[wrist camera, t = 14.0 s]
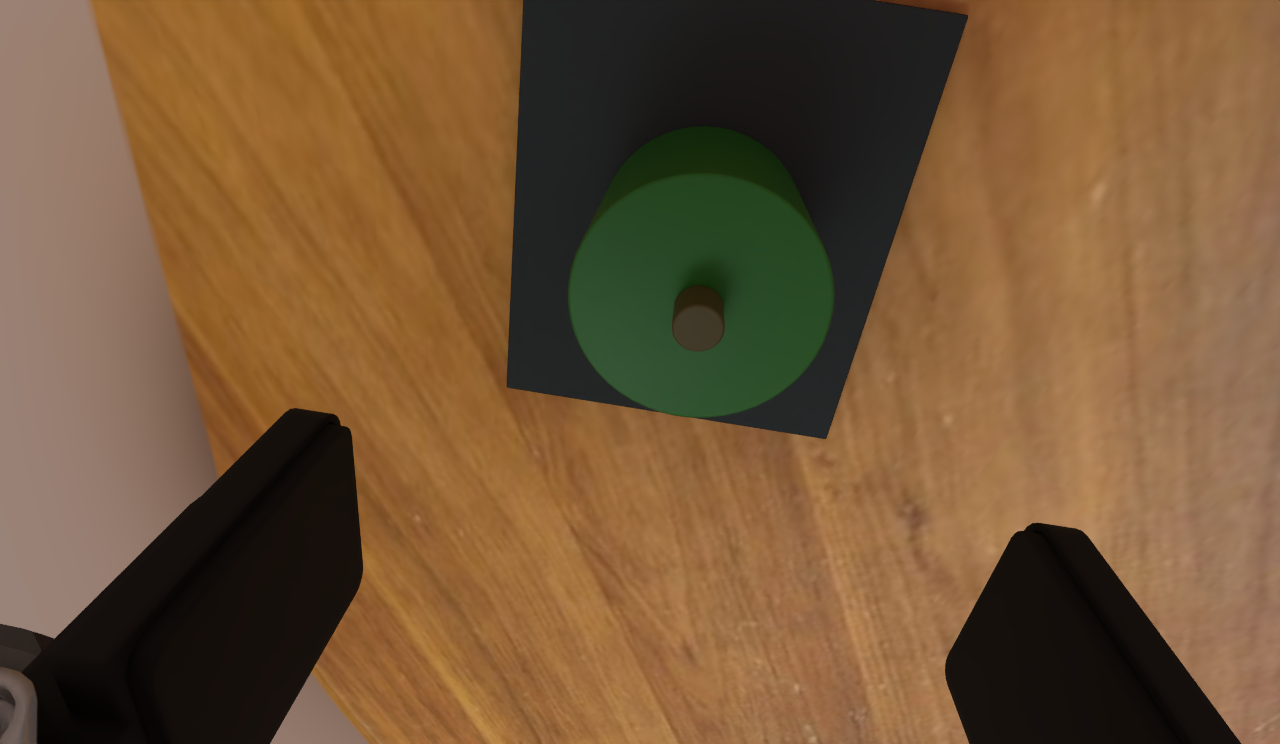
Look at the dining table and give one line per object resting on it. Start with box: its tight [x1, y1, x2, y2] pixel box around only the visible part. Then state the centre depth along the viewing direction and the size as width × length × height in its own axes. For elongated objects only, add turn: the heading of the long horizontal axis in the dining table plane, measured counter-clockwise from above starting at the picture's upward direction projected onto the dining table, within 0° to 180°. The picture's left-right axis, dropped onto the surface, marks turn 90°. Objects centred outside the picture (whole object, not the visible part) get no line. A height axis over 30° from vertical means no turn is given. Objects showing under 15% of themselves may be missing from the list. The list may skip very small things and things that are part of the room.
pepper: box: [568, 126, 834, 418], centre depth 18 cm, size 6×6×7 cm
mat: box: [507, 0, 968, 439], centre depth 22 cm, size 12×14×1 cm
